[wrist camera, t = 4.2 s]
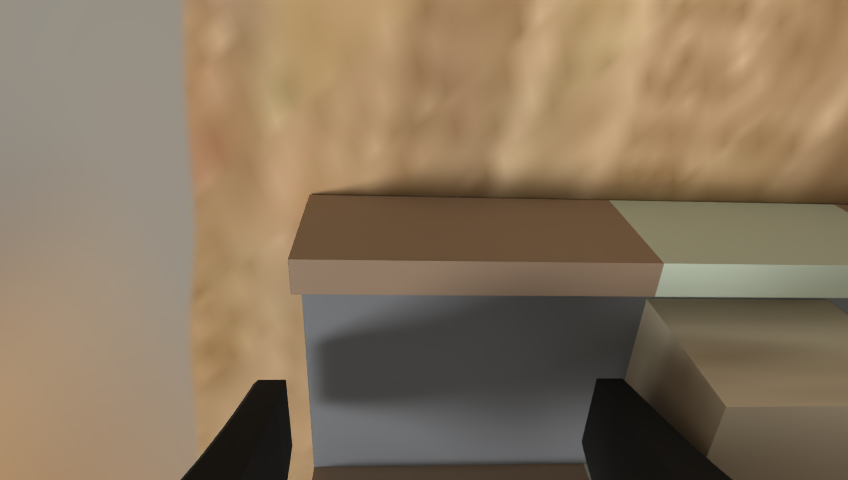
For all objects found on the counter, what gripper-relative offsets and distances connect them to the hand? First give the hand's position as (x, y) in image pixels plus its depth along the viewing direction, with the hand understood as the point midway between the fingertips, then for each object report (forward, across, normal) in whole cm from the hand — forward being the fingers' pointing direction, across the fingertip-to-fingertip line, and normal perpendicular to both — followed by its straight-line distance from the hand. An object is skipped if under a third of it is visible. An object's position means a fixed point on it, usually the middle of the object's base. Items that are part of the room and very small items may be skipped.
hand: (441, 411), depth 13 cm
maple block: (+1, -7, 0) cm, 7 cm away
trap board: (+3, -7, 0) cm, 8 cm away
